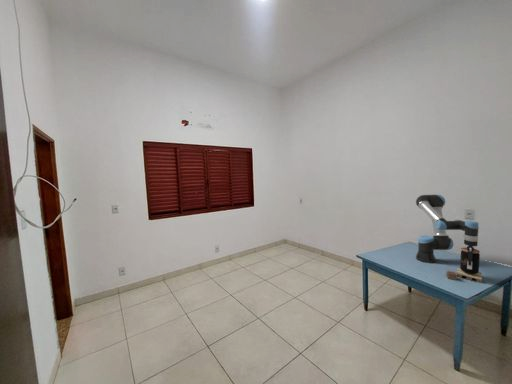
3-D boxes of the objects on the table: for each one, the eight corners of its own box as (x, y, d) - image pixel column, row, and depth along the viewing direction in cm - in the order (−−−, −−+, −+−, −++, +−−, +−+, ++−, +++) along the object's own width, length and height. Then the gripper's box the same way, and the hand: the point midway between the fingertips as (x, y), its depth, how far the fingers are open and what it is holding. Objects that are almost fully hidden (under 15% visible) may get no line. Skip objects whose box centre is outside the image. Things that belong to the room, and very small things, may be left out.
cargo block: (446, 276, 173) (446, 270, 172) (454, 277, 170) (454, 271, 170) (448, 279, 168) (448, 273, 168) (456, 280, 166) (456, 274, 165)
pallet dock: (457, 270, 180) (457, 267, 180) (481, 276, 170) (481, 272, 170) (456, 277, 171) (456, 273, 170) (481, 283, 160) (482, 279, 160)
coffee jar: (456, 268, 175) (457, 247, 174) (469, 267, 175) (470, 247, 173) (468, 274, 165) (470, 252, 163) (482, 274, 164) (484, 252, 163)
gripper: (464, 235, 178) (463, 260, 180) (463, 243, 162) (462, 270, 164) (477, 237, 173) (476, 263, 175) (477, 245, 157) (476, 273, 159)
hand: (469, 266), depth 169 cm, fingers closed on coffee jar, 10 cm apart
